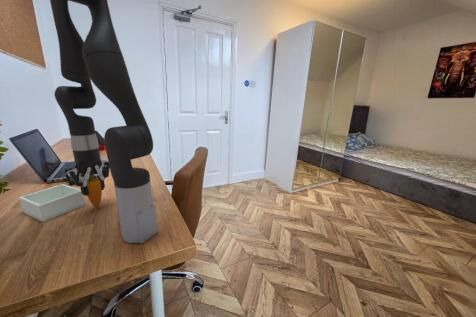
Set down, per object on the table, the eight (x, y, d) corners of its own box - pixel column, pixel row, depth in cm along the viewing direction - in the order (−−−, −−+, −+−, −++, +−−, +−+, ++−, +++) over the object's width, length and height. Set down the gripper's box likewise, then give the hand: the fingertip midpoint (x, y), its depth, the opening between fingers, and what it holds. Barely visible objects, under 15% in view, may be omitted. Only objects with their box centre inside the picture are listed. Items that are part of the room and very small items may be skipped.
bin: (85, 204, 81) (82, 190, 80) (43, 222, 70) (38, 206, 68) (65, 197, 87) (62, 183, 85) (23, 212, 75) (18, 197, 73)
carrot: (97, 211, 76) (89, 172, 72) (85, 210, 77) (77, 171, 73) (107, 205, 81) (101, 168, 77) (97, 203, 82) (90, 167, 78)
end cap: (88, 182, 102) (86, 169, 100) (70, 186, 97) (67, 172, 95) (83, 176, 109) (81, 164, 107) (66, 180, 104) (63, 167, 102)
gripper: (68, 153, 65) (79, 202, 69) (112, 144, 77) (118, 187, 82) (55, 150, 68) (66, 198, 72) (99, 142, 80) (106, 183, 85)
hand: (94, 192), depth 77 cm, fingers closed on carrot, 5 cm apart
